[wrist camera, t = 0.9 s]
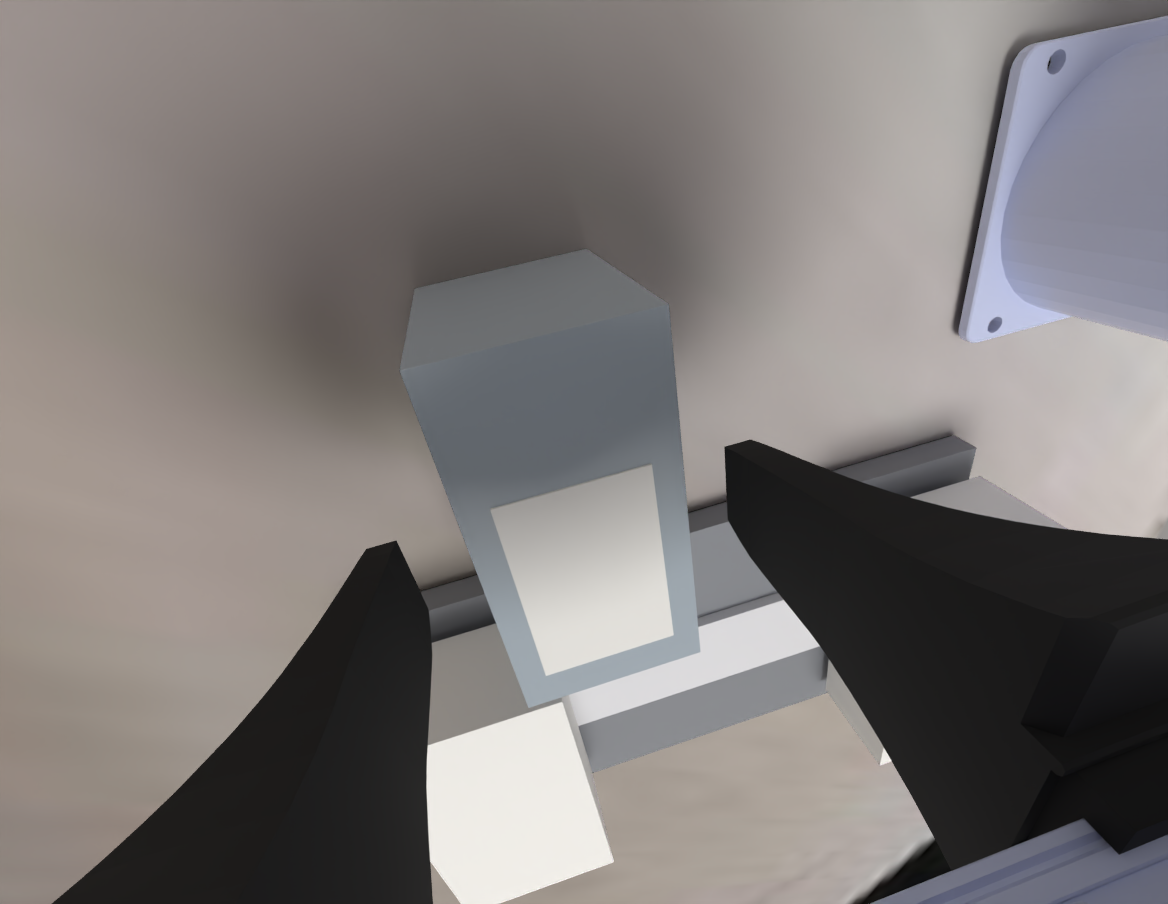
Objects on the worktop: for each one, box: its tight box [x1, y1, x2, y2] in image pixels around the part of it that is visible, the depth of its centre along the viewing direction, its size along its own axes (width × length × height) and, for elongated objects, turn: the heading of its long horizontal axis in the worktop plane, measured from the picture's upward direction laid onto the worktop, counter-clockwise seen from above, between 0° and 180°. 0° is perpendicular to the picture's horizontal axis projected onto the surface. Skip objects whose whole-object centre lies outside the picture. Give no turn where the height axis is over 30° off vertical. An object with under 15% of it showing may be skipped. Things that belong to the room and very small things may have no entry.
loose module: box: [399, 249, 700, 708], centre depth 14 cm, size 4×9×6 cm, turn 10°
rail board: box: [421, 435, 1067, 904], centre depth 20 cm, size 22×12×5 cm, turn 100°
